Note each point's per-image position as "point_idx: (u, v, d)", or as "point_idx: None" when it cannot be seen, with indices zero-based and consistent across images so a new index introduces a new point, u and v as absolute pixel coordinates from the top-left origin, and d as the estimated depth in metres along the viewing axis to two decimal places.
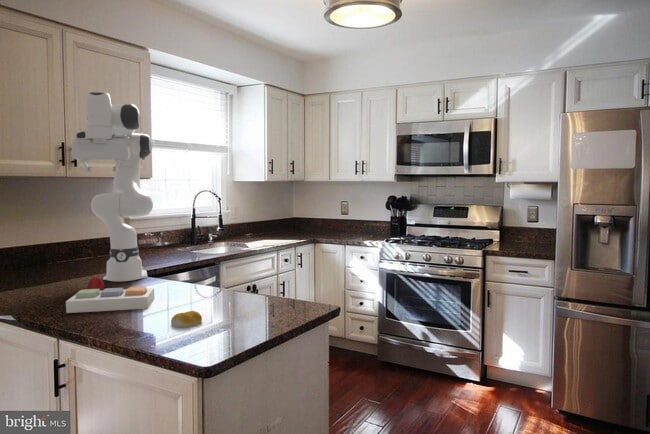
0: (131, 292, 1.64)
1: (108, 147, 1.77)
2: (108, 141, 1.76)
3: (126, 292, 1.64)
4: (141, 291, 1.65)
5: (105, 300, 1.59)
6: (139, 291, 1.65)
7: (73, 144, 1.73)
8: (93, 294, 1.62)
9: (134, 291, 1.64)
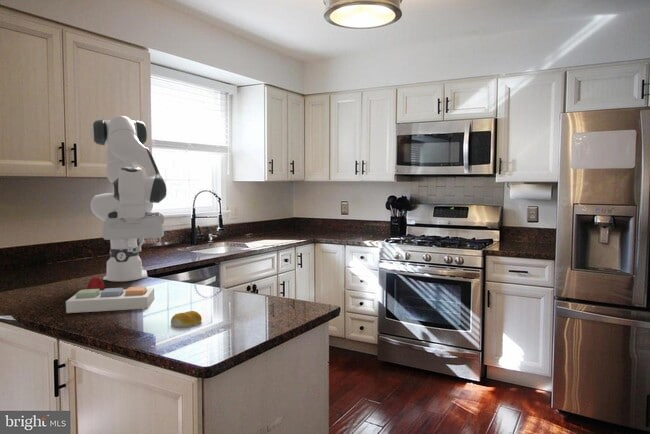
0: (131, 292, 1.64)
1: (141, 225, 1.65)
2: (141, 220, 1.64)
3: (126, 292, 1.64)
4: (141, 291, 1.65)
5: (105, 300, 1.59)
6: (139, 291, 1.65)
7: (104, 224, 1.61)
8: (93, 294, 1.62)
9: (134, 291, 1.64)
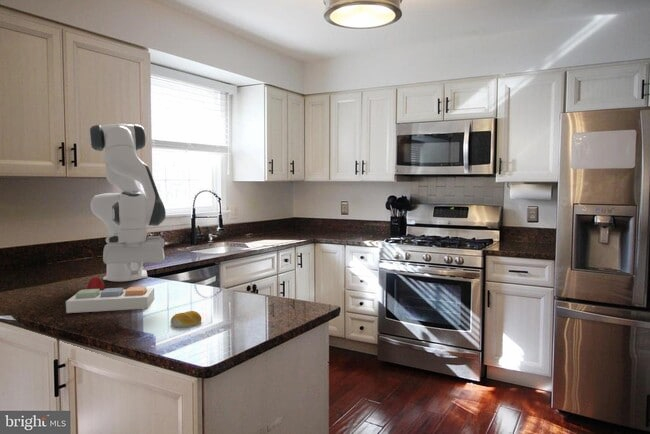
0: (131, 292, 1.64)
1: (142, 249, 1.65)
2: (142, 244, 1.65)
3: (126, 292, 1.64)
4: (141, 291, 1.65)
5: (105, 300, 1.59)
6: (139, 291, 1.65)
7: (105, 249, 1.62)
8: (93, 294, 1.62)
9: (134, 291, 1.64)
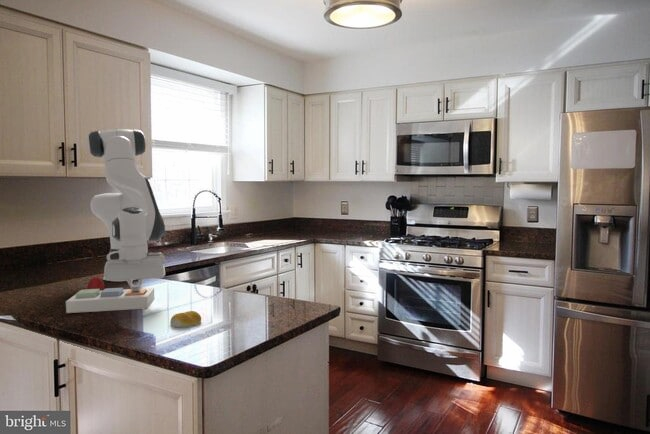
0: (131, 295, 1.64)
1: (143, 266, 1.66)
2: (143, 260, 1.65)
3: (126, 295, 1.64)
4: (141, 294, 1.65)
5: (105, 300, 1.59)
6: (139, 294, 1.65)
7: (106, 266, 1.62)
8: (93, 294, 1.62)
9: (134, 294, 1.64)
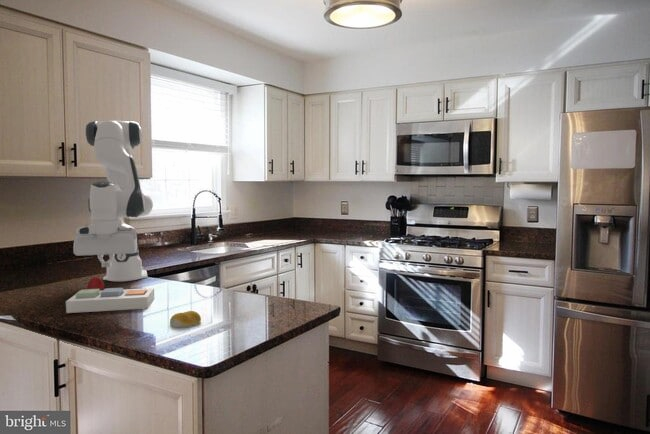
0: (131, 295, 1.64)
1: (113, 241, 1.63)
2: (113, 235, 1.63)
3: (126, 295, 1.64)
4: (141, 294, 1.65)
5: (105, 300, 1.59)
6: (139, 294, 1.65)
7: (75, 240, 1.60)
8: (93, 294, 1.62)
9: (134, 294, 1.64)
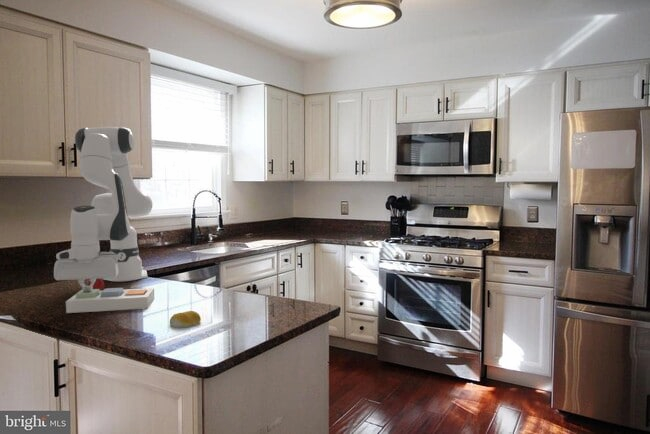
0: (131, 295, 1.64)
1: (94, 265, 1.62)
2: (94, 260, 1.62)
3: (126, 295, 1.64)
4: (141, 294, 1.65)
5: (105, 300, 1.59)
6: (139, 294, 1.65)
7: (56, 265, 1.59)
8: (93, 294, 1.62)
9: (134, 294, 1.64)
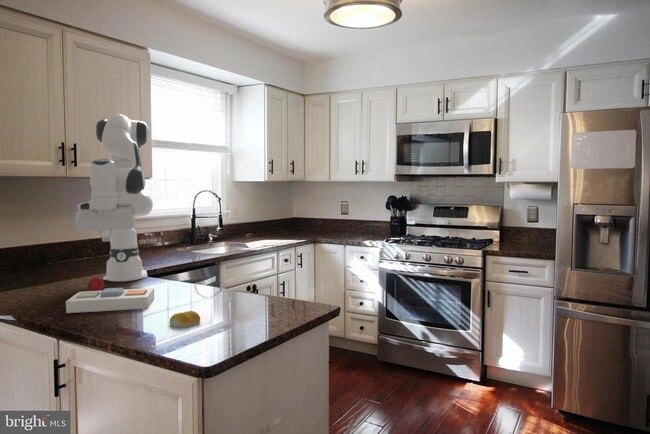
0: (131, 295, 1.64)
1: (113, 216, 1.70)
2: (113, 211, 1.70)
3: (126, 295, 1.64)
4: (141, 294, 1.65)
5: (105, 300, 1.59)
6: (139, 294, 1.65)
7: (77, 215, 1.67)
8: (93, 297, 1.62)
9: (134, 294, 1.64)
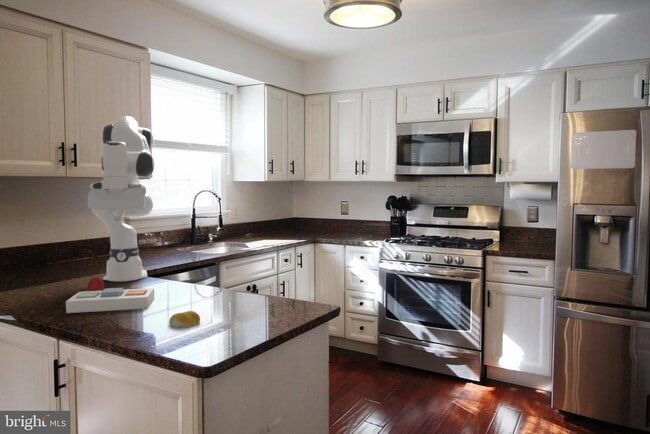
0: (131, 295, 1.64)
1: (124, 196, 1.75)
2: (124, 191, 1.75)
3: (126, 295, 1.64)
4: (141, 294, 1.65)
5: (105, 300, 1.59)
6: (139, 294, 1.65)
7: (89, 195, 1.72)
8: (93, 297, 1.62)
9: (134, 294, 1.64)
